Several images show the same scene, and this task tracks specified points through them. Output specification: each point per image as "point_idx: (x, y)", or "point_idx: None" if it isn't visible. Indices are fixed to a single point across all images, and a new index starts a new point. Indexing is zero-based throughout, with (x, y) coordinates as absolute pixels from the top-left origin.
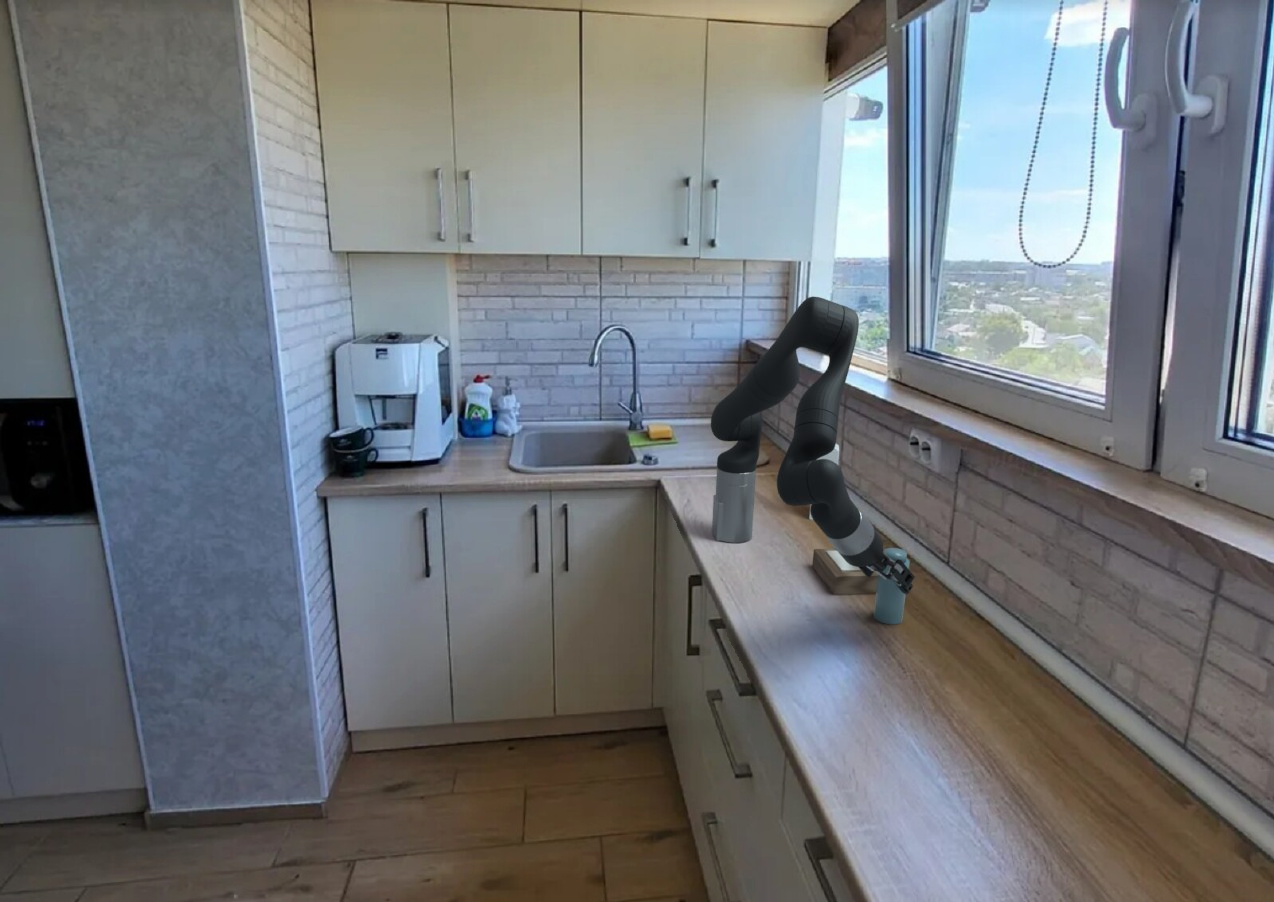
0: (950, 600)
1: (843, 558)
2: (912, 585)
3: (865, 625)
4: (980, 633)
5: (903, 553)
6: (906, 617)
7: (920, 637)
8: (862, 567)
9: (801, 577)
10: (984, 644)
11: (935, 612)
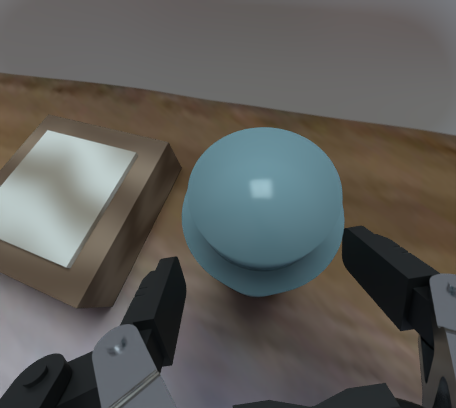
0: (240, 114)
1: (27, 213)
2: (394, 242)
3: (267, 348)
4: (360, 144)
5: (297, 155)
6: None
7: None
8: (170, 355)
9: (4, 321)
10: (401, 163)
11: None
